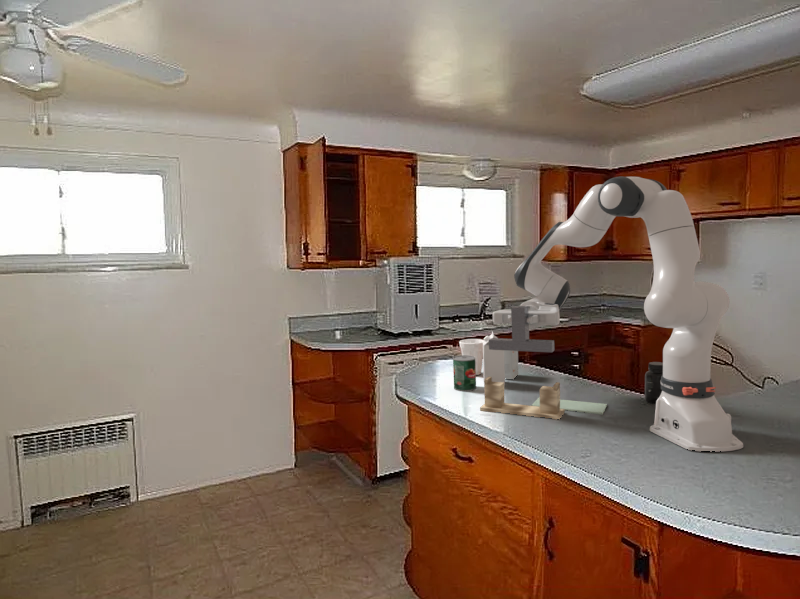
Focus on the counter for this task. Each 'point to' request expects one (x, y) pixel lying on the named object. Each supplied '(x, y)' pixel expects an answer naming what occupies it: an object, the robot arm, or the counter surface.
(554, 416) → the stand
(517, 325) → the grey inverted t block
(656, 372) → the supplement bottle
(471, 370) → the canned tomato
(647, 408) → the counter surface
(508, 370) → the small box
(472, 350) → the cup
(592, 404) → the mat
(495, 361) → the milk carton
